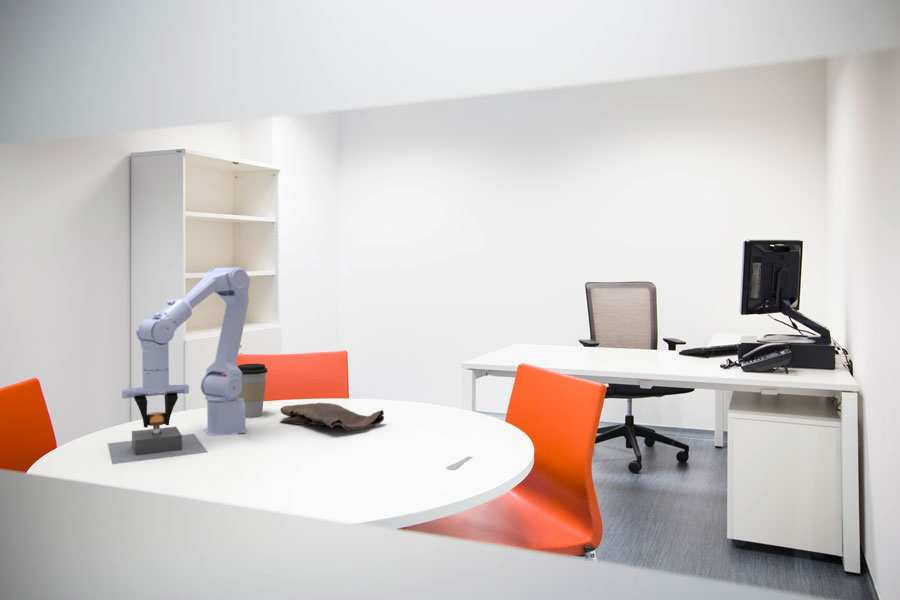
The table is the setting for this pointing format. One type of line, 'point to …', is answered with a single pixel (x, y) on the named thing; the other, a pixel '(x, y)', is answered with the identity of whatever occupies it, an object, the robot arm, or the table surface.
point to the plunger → (156, 421)
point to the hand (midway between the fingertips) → (156, 425)
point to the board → (125, 453)
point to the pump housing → (156, 441)
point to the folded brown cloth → (329, 416)
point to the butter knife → (458, 464)
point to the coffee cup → (253, 388)
